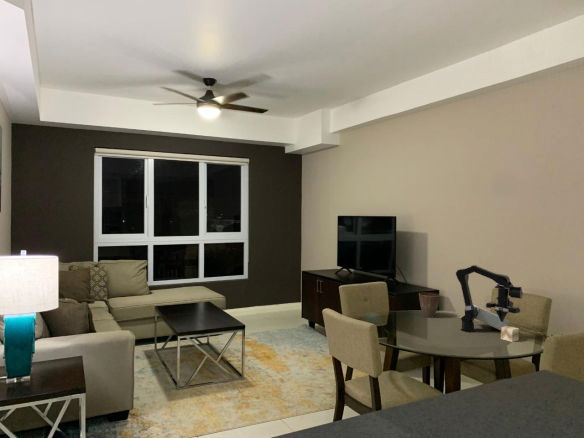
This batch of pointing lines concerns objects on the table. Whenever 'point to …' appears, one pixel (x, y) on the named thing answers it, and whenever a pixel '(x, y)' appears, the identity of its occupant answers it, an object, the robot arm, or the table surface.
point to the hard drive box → (490, 318)
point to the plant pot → (429, 303)
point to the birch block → (509, 333)
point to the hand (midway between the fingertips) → (501, 321)
